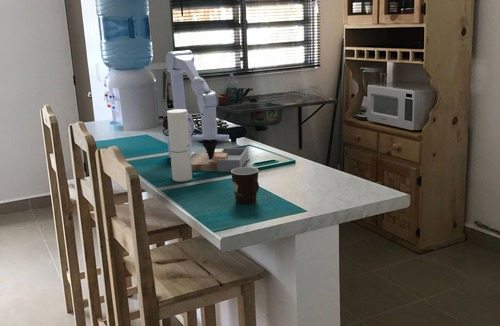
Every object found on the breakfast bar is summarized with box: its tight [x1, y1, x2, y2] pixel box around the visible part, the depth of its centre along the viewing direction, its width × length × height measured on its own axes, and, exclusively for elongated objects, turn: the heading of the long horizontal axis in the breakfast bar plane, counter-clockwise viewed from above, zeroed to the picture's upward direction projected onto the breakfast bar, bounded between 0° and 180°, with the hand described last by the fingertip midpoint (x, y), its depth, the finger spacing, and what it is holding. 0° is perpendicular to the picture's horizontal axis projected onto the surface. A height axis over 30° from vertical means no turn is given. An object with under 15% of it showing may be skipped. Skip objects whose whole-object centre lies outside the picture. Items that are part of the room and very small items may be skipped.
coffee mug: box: [230, 166, 260, 205], centre depth 167 cm, size 12×9×10 cm
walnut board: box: [191, 152, 218, 172], centre depth 212 cm, size 13×17×2 cm
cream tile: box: [214, 148, 225, 154], centre depth 214 cm, size 5×5×2 cm
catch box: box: [216, 147, 249, 173], centre depth 210 cm, size 9×19×4 cm, turn 170°
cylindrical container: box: [166, 109, 193, 182], centre depth 193 cm, size 7×7×25 cm
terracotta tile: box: [212, 152, 228, 163], centre depth 207 cm, size 5×5×2 cm
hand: (211, 158), depth 207 cm, fingers closed
